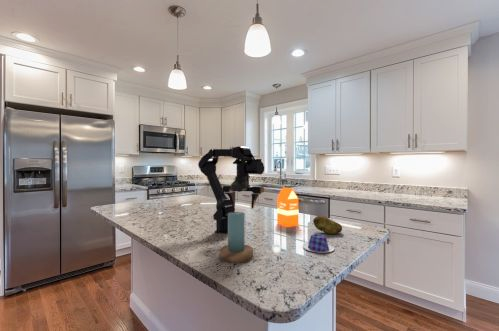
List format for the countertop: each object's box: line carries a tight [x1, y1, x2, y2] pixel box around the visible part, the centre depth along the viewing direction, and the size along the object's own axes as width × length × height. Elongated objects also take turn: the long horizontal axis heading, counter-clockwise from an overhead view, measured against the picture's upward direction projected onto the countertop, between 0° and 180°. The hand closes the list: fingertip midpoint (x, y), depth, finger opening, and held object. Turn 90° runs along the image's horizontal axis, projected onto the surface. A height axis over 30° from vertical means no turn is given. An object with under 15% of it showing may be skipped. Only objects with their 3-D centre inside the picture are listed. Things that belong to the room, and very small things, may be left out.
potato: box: [312, 215, 343, 235], centre depth 120 cm, size 8×13×8 cm, turn 62°
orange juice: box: [276, 186, 300, 228], centre depth 137 cm, size 8×9×20 cm
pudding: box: [302, 233, 335, 254], centre depth 99 cm, size 12×12×5 cm
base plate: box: [219, 244, 254, 264], centre depth 91 cm, size 12×12×2 cm
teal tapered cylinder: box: [227, 211, 246, 252], centre depth 91 cm, size 6×6×13 cm
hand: (243, 207), depth 115 cm, fingers open, 9 cm apart
